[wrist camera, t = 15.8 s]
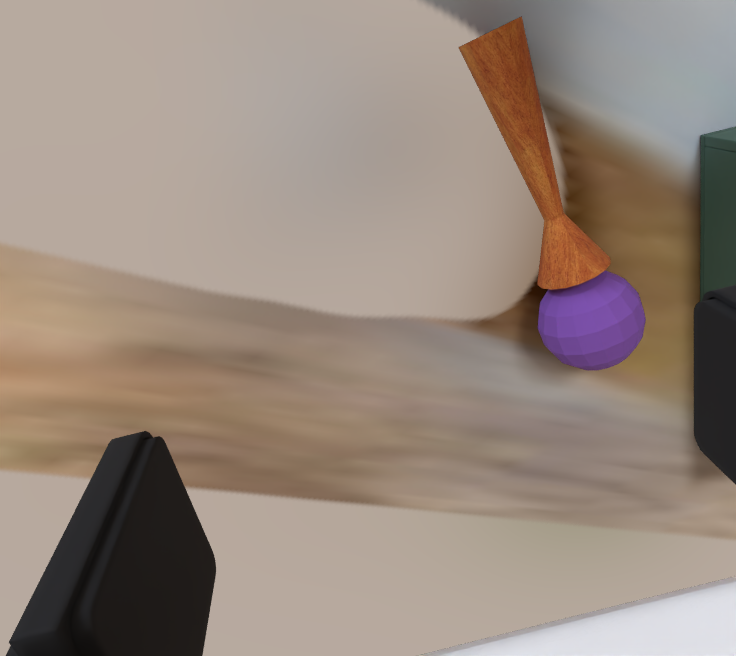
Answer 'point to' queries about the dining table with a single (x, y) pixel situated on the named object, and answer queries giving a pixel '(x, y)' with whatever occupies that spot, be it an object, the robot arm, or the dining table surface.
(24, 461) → the dining table surface
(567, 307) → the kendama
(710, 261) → the tray
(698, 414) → the robot arm
